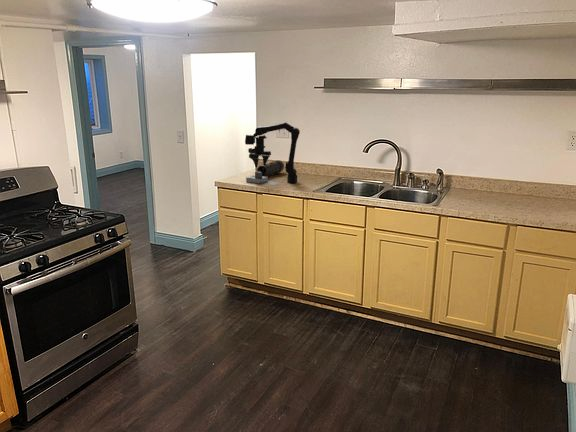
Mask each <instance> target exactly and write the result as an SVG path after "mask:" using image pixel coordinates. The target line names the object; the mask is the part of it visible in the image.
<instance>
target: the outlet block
mask: <svg viewBox="0 0 576 432" xmlns="http://www.w3.org/2000/svg"><path fill="white" fill-rule="evenodd" d="M245 178H246V179H245V182H246V183H250V184H256V185H261V184H263V183H267V182H269V179H268V178H269V176H267V177H264V176H262V178H255V174H254V175H251V176H247V177H245Z"/></svg>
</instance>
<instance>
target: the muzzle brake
mask: <svg viewBox="0 0 576 432" xmlns="http://www.w3.org/2000/svg"><path fill="white" fill-rule="evenodd" d="M284 169H285V163H284V162H283V161H282V160H278V159H277V160H274V161H272V162H269V163H268V162H267V163H266V164H265V166H264V165H263V164H262V165H258V166H257V167H256V172H257V171H258V172H262V176H264V177H271V176H272V175H274V174H275V175H277V174H278V173H282V172H283V170H284Z"/></svg>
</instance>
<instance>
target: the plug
mask: <svg viewBox="0 0 576 432" xmlns="http://www.w3.org/2000/svg"><path fill="white" fill-rule="evenodd" d="M254 175H255V178H262V172H258V171H257V170H256V171H254Z"/></svg>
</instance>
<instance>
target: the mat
mask: <svg viewBox="0 0 576 432" xmlns="http://www.w3.org/2000/svg"><path fill="white" fill-rule="evenodd" d="M262 184H265V185H270V186H275V185H279V184H280V182H277V181H268V182H265V183H262Z"/></svg>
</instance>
